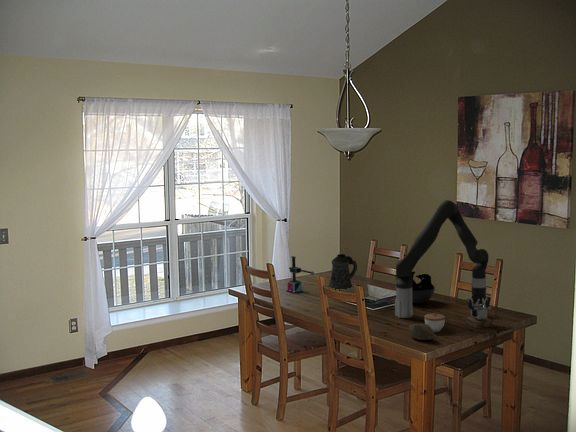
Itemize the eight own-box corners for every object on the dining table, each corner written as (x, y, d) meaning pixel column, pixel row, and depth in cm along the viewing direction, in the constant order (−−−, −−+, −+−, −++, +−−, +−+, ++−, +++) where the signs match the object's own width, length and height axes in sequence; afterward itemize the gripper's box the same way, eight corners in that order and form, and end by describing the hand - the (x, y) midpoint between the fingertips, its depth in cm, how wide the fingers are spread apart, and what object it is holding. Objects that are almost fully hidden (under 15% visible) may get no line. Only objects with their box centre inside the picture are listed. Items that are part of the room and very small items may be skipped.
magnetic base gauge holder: (282, 290, 439) (281, 256, 436) (292, 288, 445) (291, 254, 442) (306, 296, 420) (305, 260, 417) (316, 294, 426) (315, 258, 423)
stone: (440, 340, 322) (440, 325, 321) (429, 344, 317) (429, 329, 316) (414, 333, 335) (413, 319, 334) (403, 337, 330) (402, 322, 329)
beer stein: (323, 291, 434) (322, 255, 431) (342, 285, 447) (341, 251, 444) (341, 294, 422) (340, 258, 419) (360, 289, 435) (359, 253, 432)
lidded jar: (444, 327, 344) (444, 310, 343) (445, 333, 333) (445, 316, 332) (424, 326, 346) (424, 310, 345) (424, 332, 336) (424, 315, 335)
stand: (475, 328, 340) (475, 322, 340) (464, 322, 351) (464, 317, 351) (493, 325, 343) (493, 320, 343) (481, 320, 354) (482, 315, 354)
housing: (471, 315, 349) (471, 304, 349) (479, 314, 351) (479, 304, 350) (479, 319, 342) (479, 308, 341) (487, 318, 343) (487, 307, 342)
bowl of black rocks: (435, 307, 384) (435, 277, 381) (402, 306, 387) (401, 276, 385) (434, 299, 403) (433, 270, 401) (402, 298, 407) (401, 270, 405)
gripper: (486, 283, 350) (486, 312, 352) (463, 285, 346) (463, 315, 348) (494, 286, 343) (494, 316, 345) (471, 288, 339) (470, 319, 341)
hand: (478, 315), depth 347 cm, fingers closed on housing, 5 cm apart
